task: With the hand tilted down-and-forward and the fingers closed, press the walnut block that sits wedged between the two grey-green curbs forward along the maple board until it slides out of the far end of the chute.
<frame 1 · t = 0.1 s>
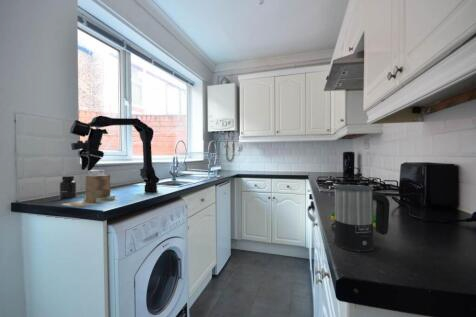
hand: (85, 170, 109), 15 cm above the table, tool pointing down, fingers open, 9 cm apart
supplement bottle: (68, 199, 114), on the table
dish sponge: (354, 222, 77), on the table
chute: (92, 203, 103), on the table
block: (98, 200, 106), point 1 cm above the table, touching chute
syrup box: (96, 195, 127), on the table
milk frother: (348, 239, 60), on the table
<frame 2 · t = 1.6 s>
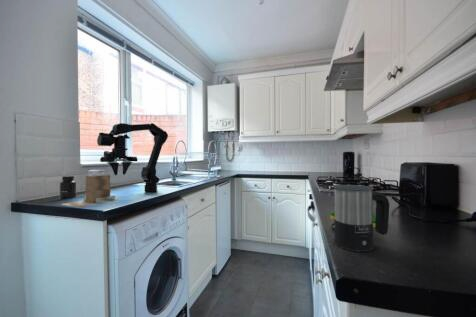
hand: (120, 174, 121), 12 cm above the table, tool pointing down, fingers open, 5 cm apart
nothing on the table moved.
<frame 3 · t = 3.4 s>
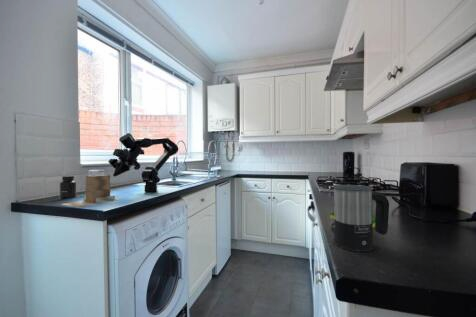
hand: (114, 176, 113), 12 cm above the table, tool tilted 45°, fingers closed
nothing on the table moved.
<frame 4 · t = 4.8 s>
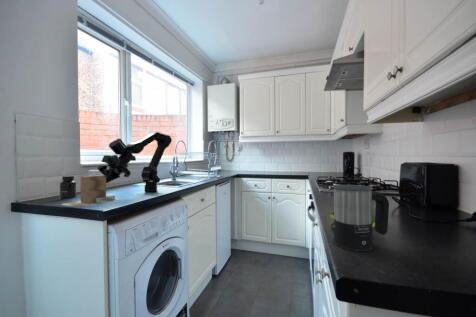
hand: (102, 183, 108), 9 cm above the table, tool tilted 45°, fingers closed, pressing on block
block: (93, 201, 104), point 1 cm above the table, touching chute, gripper
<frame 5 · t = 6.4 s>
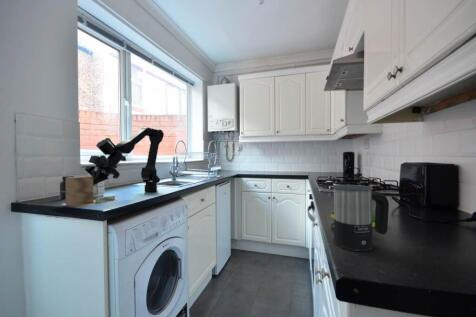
hand: (89, 185, 102), 9 cm above the table, tool tilted 45°, fingers closed, pressing on block
block: (79, 204, 98), point 1 cm above the table, touching chute, gripper
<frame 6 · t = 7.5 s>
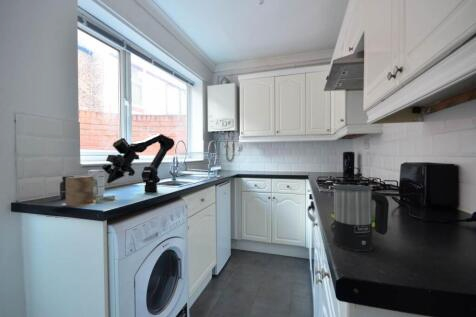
hand: (107, 182, 110), 9 cm above the table, tool tilted 45°, fingers closed
block: (79, 204, 98), point 1 cm above the table, touching chute
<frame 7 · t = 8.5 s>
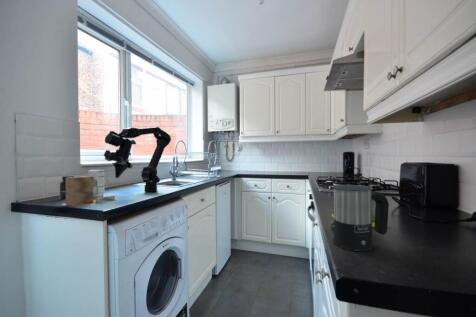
hand: (116, 177, 116), 11 cm above the table, tool tilted 15°, fingers closed
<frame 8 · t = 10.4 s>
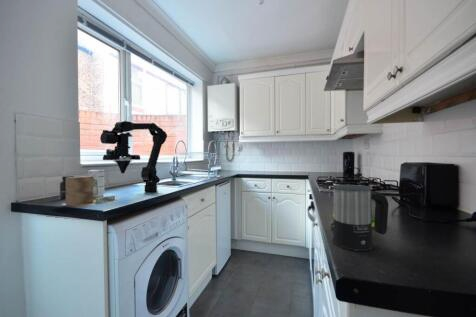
hand: (122, 173, 120), 13 cm above the table, tool pointing down, fingers closed
at the end: block inside the target area (5.1 cm from its centre), point 1.0 cm above the table; block moved 8.3 cm from its start; block tilted 0° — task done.
